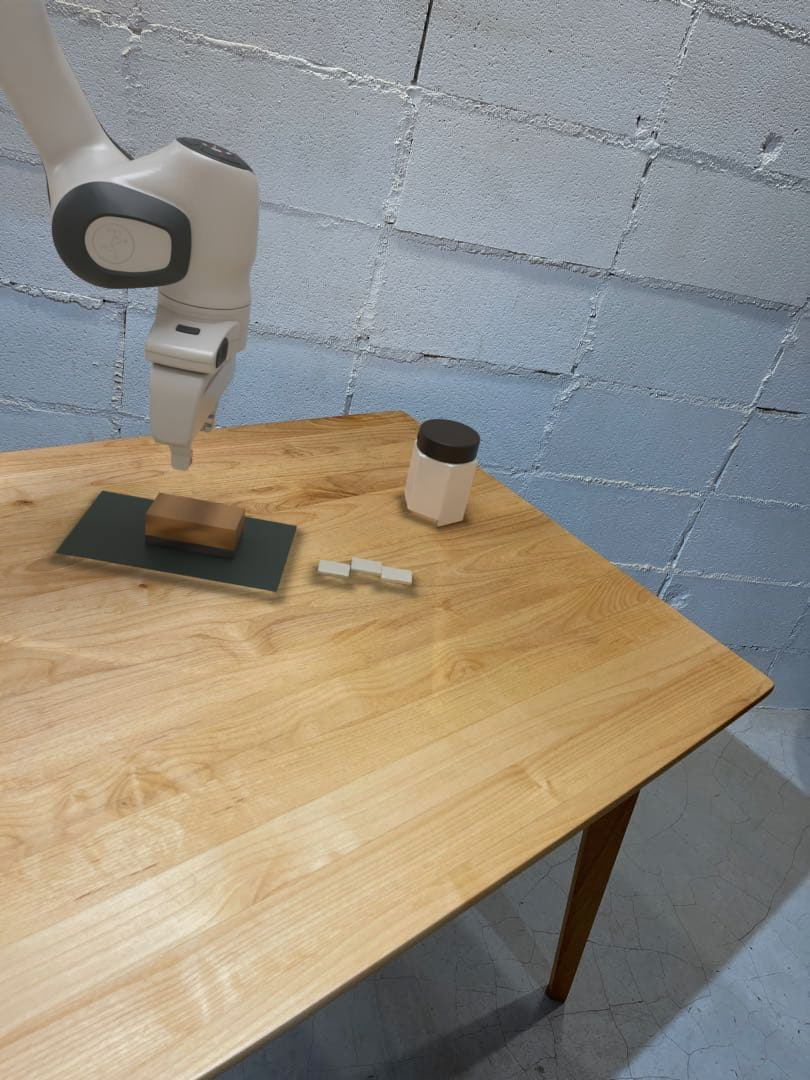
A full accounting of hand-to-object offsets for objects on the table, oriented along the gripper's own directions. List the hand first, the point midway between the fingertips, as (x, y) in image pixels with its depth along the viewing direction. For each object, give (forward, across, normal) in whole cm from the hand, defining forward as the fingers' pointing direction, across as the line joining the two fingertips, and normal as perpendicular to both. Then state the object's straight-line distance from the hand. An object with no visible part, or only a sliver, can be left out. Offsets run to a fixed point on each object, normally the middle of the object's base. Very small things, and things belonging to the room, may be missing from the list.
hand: (193, 447), depth 88 cm
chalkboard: (+13, 0, 0) cm, 13 cm away
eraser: (+12, 0, +1) cm, 12 cm away
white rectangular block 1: (+13, +1, +17) cm, 22 cm away
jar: (+13, -19, +29) cm, 37 cm away
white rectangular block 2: (+13, -1, +21) cm, 25 cm away
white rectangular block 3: (+11, 0, +24) cm, 27 cm away
